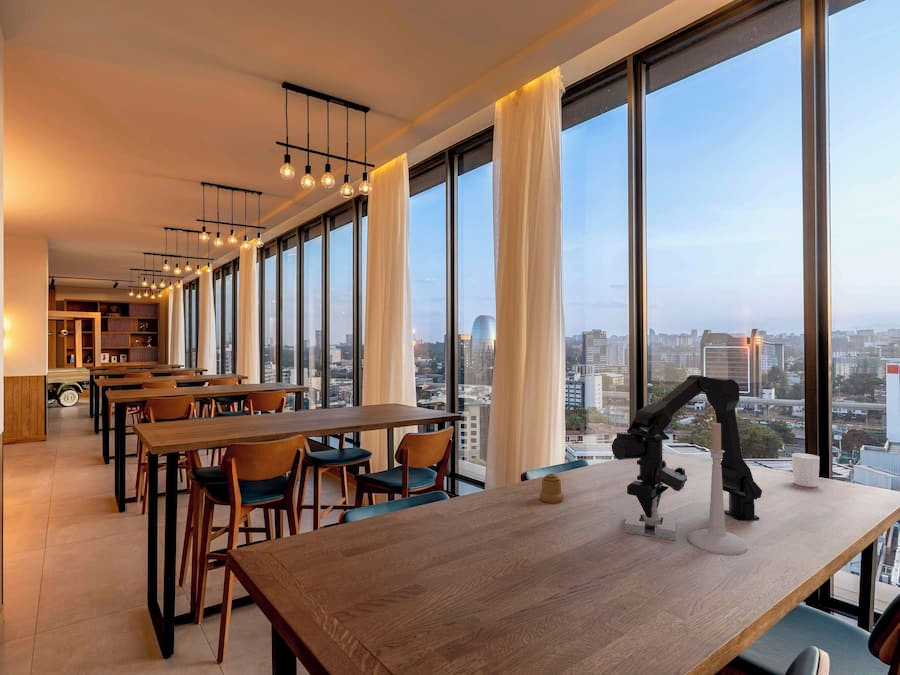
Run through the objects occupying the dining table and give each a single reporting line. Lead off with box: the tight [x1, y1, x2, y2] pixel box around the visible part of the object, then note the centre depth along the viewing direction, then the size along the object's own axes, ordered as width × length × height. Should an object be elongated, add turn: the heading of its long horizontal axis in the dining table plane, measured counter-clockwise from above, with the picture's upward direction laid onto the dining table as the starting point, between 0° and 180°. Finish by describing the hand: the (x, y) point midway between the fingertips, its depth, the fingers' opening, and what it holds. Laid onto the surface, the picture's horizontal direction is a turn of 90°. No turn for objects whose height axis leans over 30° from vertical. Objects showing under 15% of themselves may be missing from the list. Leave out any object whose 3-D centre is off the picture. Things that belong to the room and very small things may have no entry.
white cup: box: [791, 452, 820, 488], centre depth 170 cm, size 8×8×10 cm
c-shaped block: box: [624, 508, 678, 541], centre depth 130 cm, size 12×12×2 cm
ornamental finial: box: [539, 473, 565, 504], centre depth 153 cm, size 8×8×8 cm
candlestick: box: [687, 421, 749, 556], centre depth 120 cm, size 13×13×30 cm
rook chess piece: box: [643, 496, 661, 526], centre depth 130 cm, size 4×4×8 cm
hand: (651, 515), depth 130 cm, fingers closed on rook chess piece, 3 cm apart
